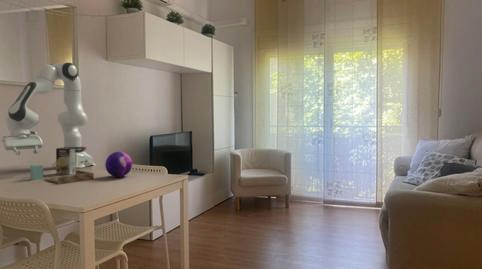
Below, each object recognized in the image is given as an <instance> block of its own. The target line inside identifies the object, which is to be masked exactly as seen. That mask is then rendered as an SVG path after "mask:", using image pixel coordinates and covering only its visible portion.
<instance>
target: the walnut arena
mask: <svg viewBox="0 0 482 269" xmlns="http://www.w3.org/2000/svg"><path fill="white" fill-rule="evenodd" d="M94 175H95V173H94V172H90V171H85V170H81V169H80V170H79V169H75V173H74V174H71V175H60V176H52V177H46V178H44V177H43V180H44V181H46V182H49V183H53V184H57V185H62V184H70V183H77V182H83V181H84V182H85V181H90V180H94V179H95V177H94Z"/></svg>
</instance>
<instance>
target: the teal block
mask: <svg viewBox="0 0 482 269" xmlns="http://www.w3.org/2000/svg"><path fill="white" fill-rule="evenodd" d="M29 165H30V180H32V181H37V180H38V181H39V180H44V167H43V166H44V165H43V164H32V165H31V164H29Z"/></svg>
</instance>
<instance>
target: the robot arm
mask: <svg viewBox="0 0 482 269" xmlns="http://www.w3.org/2000/svg"><path fill="white" fill-rule="evenodd" d="M78 71H79V70H78V68H77V66H76V64H75V63H71V62H59V63H52V64H43V65H42V66H41V67H40V68H39V70H38V72H37V73H36V76H35V78H34V80H32V81H31V82H28V83H27V84H26V85H25V86H24V88H23V90H22V91H21V93H20V94H19V96H18V97H17V99H15V102H14V103H12V105H10V107H9V108H8V113H7V114H8V115H7V117H6V119H5V122H6V127H7V129H8V131H9V134H10V135H9V136H6V135H5V136H3V137H1V141H2V142H3V148H4V150H6V151H13V152H14V153H15V154H16V155H17V156H19V155H21V151H20V150H29V149H30V150H31V149H33V151H32V152H33V154H38V149H41V148H42V147H43V144H44V142H43V141H42V140H43V139H41V137H40V136H39V135H38V132H37V131H33V130H30V129H32V128H34V127H35V126H37V125H38V123H39V122H40V116H39V114H38V113H36V112H35V111H33V110H31V109H29V108H28V107H27V104H28V103H29V102H30V100H31V98H32V97H33V95H35V94H38V95H47V94H48V93H50V92H51V91H52V90H53V88H54V85H55V83H56V80H60V81H61V80H62V83H63V103H64V105H65V107H66V109H67V110H65V111H62V112H60V113H59V114H58V115H57V122H58V123H59V124H60V127H61V129H62V130H61V131H62V133H63V134H62V135H63V148H75V169H83V168H86V167H85V165H84V163H86V162H89V163H93V165H94V166H98V165H97V163H95V162H94V158H93V156H92V155H90V154H89V153H87V152H86V151H87V150H88V148H87V146H82V143H83V142H82V138H83V137H82V134H81V133H80V131H79V128H80V127H83V126H85V125H86V124H87V123H88V121H89V120H88V115H87V113H85V110H84V107H83V104H82V83H81V79H80V77H79V76H78V75H79V72H78ZM94 166H93V167H94Z"/></svg>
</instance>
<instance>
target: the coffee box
mask: <svg viewBox="0 0 482 269" xmlns="http://www.w3.org/2000/svg"><path fill="white" fill-rule="evenodd" d="M55 151H56V152H55V156H56V157H55V158H56V159H55V160H56V162H55V164H56V166H55V167H56V169H55V170H56V175H61V176H67V175H74V174H76V168H75V148H64V147H57V148H55Z"/></svg>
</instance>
